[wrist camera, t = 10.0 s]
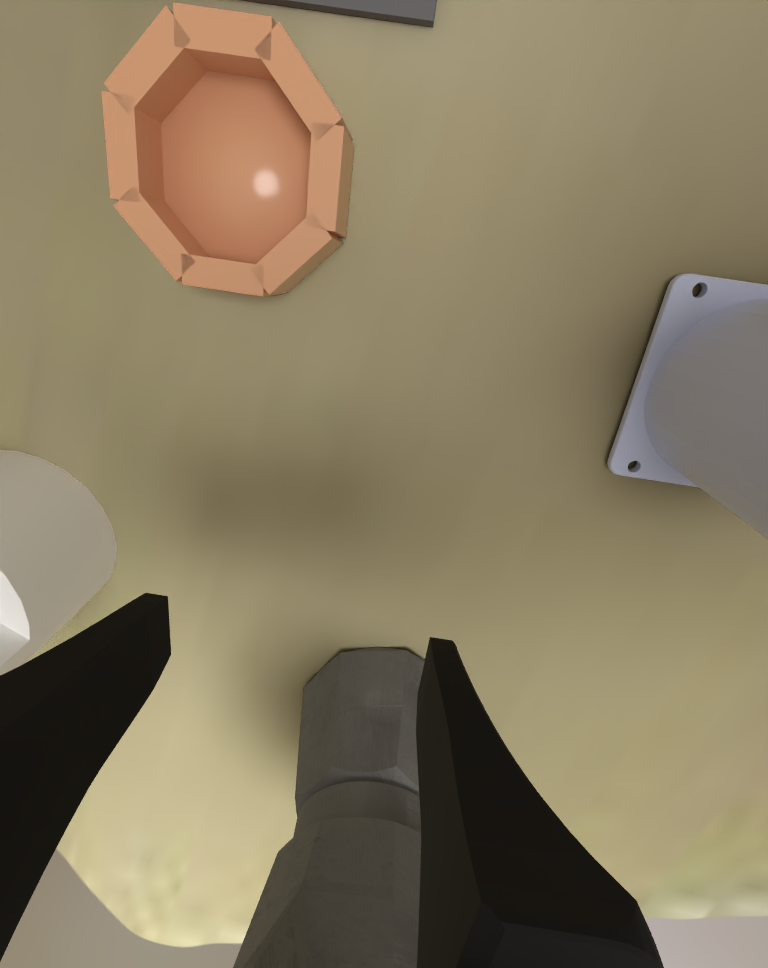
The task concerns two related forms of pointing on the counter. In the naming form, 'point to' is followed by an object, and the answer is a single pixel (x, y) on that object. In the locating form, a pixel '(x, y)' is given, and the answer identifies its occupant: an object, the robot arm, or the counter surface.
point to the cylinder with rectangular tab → (46, 553)
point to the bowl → (227, 152)
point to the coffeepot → (349, 825)
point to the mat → (370, 9)
